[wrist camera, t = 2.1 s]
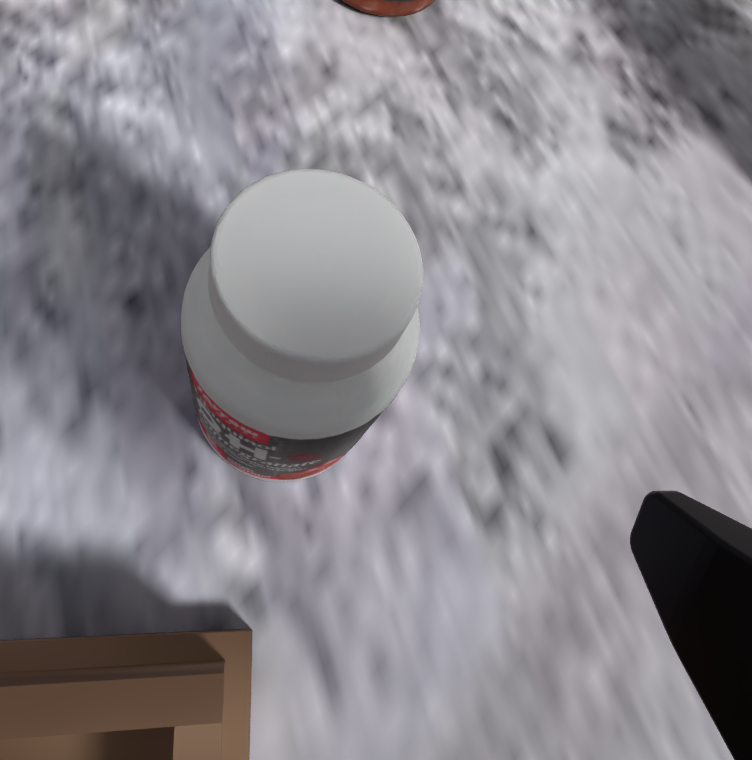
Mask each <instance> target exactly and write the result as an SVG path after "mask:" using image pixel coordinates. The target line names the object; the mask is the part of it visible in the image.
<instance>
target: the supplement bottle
mask: <svg viewBox="0 0 752 760" xmlns="http://www.w3.org/2000/svg"><path fill="white" fill-rule="evenodd" d="M342 1H343V2H345V3H347V4H348V5H350V6H352V7H353V8H355V9H358V10H360V11H364V12H366V13H369V14H373V15H378V16H385V17H396V16H406V15H411V14H414V13H416V12H419V11H421V10H423V9H425V8H426V7H428V6H429V5H431V4H432V3H433V2H434V1H435V0H342Z"/></svg>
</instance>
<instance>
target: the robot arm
mask: <svg viewBox="0 0 752 760" xmlns="http://www.w3.org/2000/svg"><path fill="white" fill-rule="evenodd" d="M630 545H631V550H632V553H633V555H634V557H635V560H636V562H637V564H638V567H639V569H640V571H641V574H642V576H643V578H644V581H645V583H646V585H647V588H648V590H649V592H650V595H651V597H652V599H653V602H654V604H655V607H656V609H657V611H658V614H659V616H660V618H661V621H662V623H663V625H664V628H665V630H666V632H667V634H668V636H669V639H670V641H671V643H672V645H673V647H674V649H675V651H676V653H677V655H678V657H679V659H680V661H681V662H682V664H683V666H684V668H685V670H686V672H687V673H688V675H689V677H690V679H691V681H692V683H693V685H694V686H695V688H696V690H697V692H698V694H699V696H700V697H701V699H702V701H703V703H704V705H705V707H706V708H707V710H708V712H709V714H710V716H711V718H712V719H713V721H714V723H715V725H716V727H717V729H718V731H719V732H720V734H721V736H722V738H723V740H724V742H725V743H726V745H727V747H728V749H729V751H730V753H731V754H732V756H733V758H734V760H752V529H751V528H749V527H747V526H745V525H743V524H741V523H739V522H737V521H735V520H733V519H732V518H730V517H728V516H726V515H724V514H722V513H720V512H718V511H716V510H714V509H712V508H710V507H708V506H706V505H704V504H702V503H700V502H698V501H696V500H694V499H692V498H690V497H688V496H686V495H684V494H682V493H680V492H677V491H652V492H650V493H648V494H647V495H646V496H645V498H644V500H643V503H642V505H641V508H640V510H639V513H638V516H637V518H636V521H635V524H634V526H633V529H632V531H631V536H630Z"/></svg>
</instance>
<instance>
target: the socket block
mask: <svg viewBox="0 0 752 760" xmlns="http://www.w3.org/2000/svg"><path fill="white" fill-rule="evenodd" d="M251 666H252V629H233V630H212V631H191V632H170V633H149V634H128V635H106V636H85V637H64V638H43V639H22V640H1V641H0V760H249V750H250V708H251Z"/></svg>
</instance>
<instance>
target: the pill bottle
mask: <svg viewBox="0 0 752 760" xmlns="http://www.w3.org/2000/svg"><path fill="white" fill-rule="evenodd" d="M422 285H423V264H422V258H421V253H420V249H419V246H418V243H417V240H416V238H415V235H414V233H413V231H412V229H411V228H410V226H409V224H408V222H407V221H406V219H405V218H404V216H403V215H402V214H401V212H400V211H399V210H398V209H397V208H396V207H395V206H394V205H393V203H392V202H391V201H389V200H388V199H387V198H386V197H385V196H383V195H382V194H381V193H380V192H378V191H377V190H375V189H374V188H372V187H371V186H369V185H367V184H365V183H364V182H362V181H359V180H357V179H354V178H352V177H350V176H347V175H344V174H341V173H337V172H334V171H328V170H321V169H297V170H288V171H283V172H280V173H276V174H273V175H270V176H267V177H265V178H263V179H261V180H259V181H256V182H255V183H253V184H251V185H250V186H248V187H247V188H245V189H244V190H243V191H241V192H240V193H239V194H238V195H237V196H236V197H235V198H234V199H233V200H232V201H231V202H230V204H229V205H228V207H227V208H226V209H225V211H224V212H223V214H222V215H221V217H220V219H219V221H218V223H217V225H216V228H215V231H214V234H213V237H212V241H211V247H210V248H209V249H208V250H207V251H206V252H205V253H204V254H203V256H202V257H201V259H200V260H199V261H198V263H197V265H196V266H195V268H194V270H193V272H192V274H191V276H190V278H189V281H188V283H187V286H186V289H185V292H184V297H183V302H182V309H181V338H182V344H183V349H184V354H185V358H186V363H187V369H188V373H189V378H190V383H191V389H192V393H193V401H194V405H195V410H196V415H197V418H198V421H199V424H200V427H201V430H202V432H203V434H204V436H205V438H206V439H207V441H208V442H209V444H210V445H211V447H212V448H213V450H214V451H215V452H216V453H217V454H218V455H219V456H220V457H221V459H222V460H224V461H225V462H226V463H227V464H229V465H230V466H231V467H233V468H235V469H236V470H238V471H239V472H241V473H243V474H245V475H248V476H251V477H254V478H257V479H260V480H265V481H271V482H292V481H298V480H303V479H306V478H310V477H313V476H315V475H318V474H320V473H322V472H323V471H325V470H327V469H328V468H330V467H331V466H333V465H334V464H335V463H336V462H338V461H339V460H340V459H341V458H342V457H343V456H344V455H345V454H346V453H347V452H348V451H349V450H350V449H351V448H352V447H353V446H354V445H355V444H356V443H357V442H358V441H359V439H360V438H361V437H362V436H363V434H364V433H365V432H366V431H367V430H368V429H369V427H370V426H371V425H372V424H373V423H374V422H375V421H376V419H377V418H378V417H379V416H380V415H381V414H382V413H383V411H384V410H385V409H386V408H387V407H388V406H389V404H390V403H391V402H392V401H393V400H394V399H395V397H396V396H397V394H398V393H399V391H400V389H401V388H402V386H403V385H404V383H405V381H406V380H407V378H408V376H409V373H410V371H411V369H412V366H413V364H414V361H415V358H416V354H417V349H418V343H419V335H420V322H419V312H418V307H417V306H418V303H419V300H420V296H421V292H422Z"/></svg>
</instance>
